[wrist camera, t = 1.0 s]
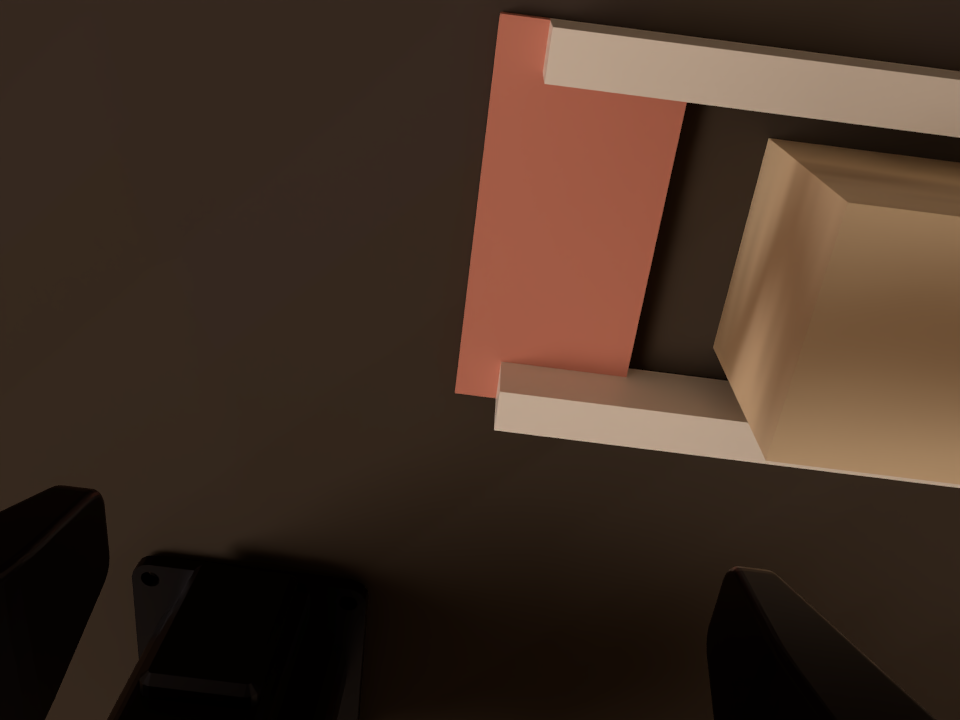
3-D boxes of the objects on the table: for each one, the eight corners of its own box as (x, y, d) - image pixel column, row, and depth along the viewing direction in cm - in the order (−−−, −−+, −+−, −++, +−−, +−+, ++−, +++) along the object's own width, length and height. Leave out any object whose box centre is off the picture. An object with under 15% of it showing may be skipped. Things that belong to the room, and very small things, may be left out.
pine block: (917, 372, 21) (1027, 493, 16) (712, 346, 20) (765, 460, 16) (997, 166, 18) (1151, 241, 14) (768, 137, 18) (848, 202, 14)
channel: (1249, 482, 21) (1315, 532, 20) (456, 383, 21) (450, 424, 19) (1466, 137, 18) (1573, 159, 16) (500, 11, 17) (498, 19, 15)
